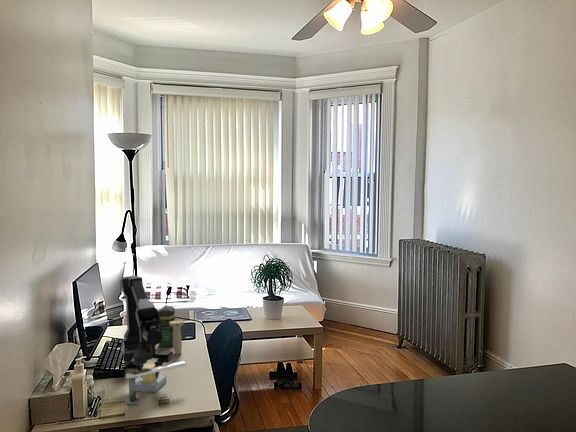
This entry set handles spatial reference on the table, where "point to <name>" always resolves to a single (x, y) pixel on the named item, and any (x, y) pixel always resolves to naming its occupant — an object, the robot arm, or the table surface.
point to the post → (132, 393)
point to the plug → (150, 377)
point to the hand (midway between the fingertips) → (149, 377)
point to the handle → (177, 335)
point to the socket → (150, 384)
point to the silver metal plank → (154, 370)
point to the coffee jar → (166, 325)
